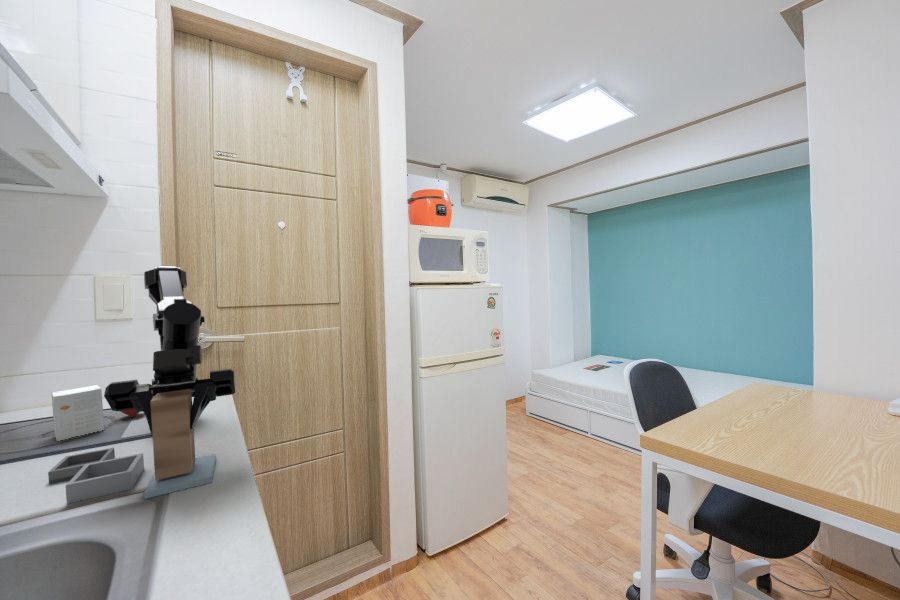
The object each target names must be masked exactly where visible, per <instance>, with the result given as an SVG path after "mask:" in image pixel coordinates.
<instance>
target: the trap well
mask: <svg viewBox="0 0 900 600" xmlns="http://www.w3.org/2000/svg"><path fill="white" fill-rule="evenodd" d="M115 457H116V452H115V447H114V446H113V447H108V448H104V449H99V450H93V451H87V452H81V453H77V454H71V455H66V456H65V457H63V458H62V459H61V460H60V461H58V463H57V464H55V465H54V467H52V468H51V469H50V470H49V471H48V472H47V473H48V476H47V477H48V484H54V483H58V482H62V481H67V480H71V479H72V478H73V477H74V476H75V475H76V474H77V473H78V472H79V471H80V469H81V468H82V467H83V466H84V465H85V464H89V463H95V462H100V461H105V460H110V459H115Z"/></svg>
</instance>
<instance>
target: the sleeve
mask: <svg viewBox="0 0 900 600" xmlns="http://www.w3.org/2000/svg"><path fill="white" fill-rule="evenodd" d="M144 470H145V462H144V452H141V453H136V454H131V455H125V456H121V457H116V458H114V459H110V460H105V461H100V462H95V463H89V464H85V465H84V466H83V467H82V468H81V469H80V471H79V472H78V473H77V474H76V475H75V476H74V477H73V478H72V479H69V481H68V482H67V483H66V484H65V495H66V497H65V498H66V504H67V505H68V504H73V503H76V502H77V501H78V502H81V501H80V500H82V501H86V500H90V499H95V498H98V497H102V496H108V495H111V494H115V493H120V492H124V491H129V490H133V489H134V486H136V485H135V484H136V483H137V482H138V480H139V478H140V476H141V474H142V473H143V472H144Z"/></svg>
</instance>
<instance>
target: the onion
mask: <svg viewBox="0 0 900 600" xmlns="http://www.w3.org/2000/svg"><path fill="white" fill-rule="evenodd" d="M119 412H120V413H122V414H125V415H127V416H129V417H135V416H136V415H138V414H139V413H140V412H137V411H136V410H135V409H131V410H124V411H119Z"/></svg>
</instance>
